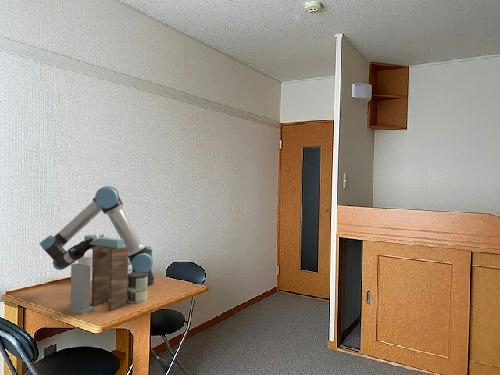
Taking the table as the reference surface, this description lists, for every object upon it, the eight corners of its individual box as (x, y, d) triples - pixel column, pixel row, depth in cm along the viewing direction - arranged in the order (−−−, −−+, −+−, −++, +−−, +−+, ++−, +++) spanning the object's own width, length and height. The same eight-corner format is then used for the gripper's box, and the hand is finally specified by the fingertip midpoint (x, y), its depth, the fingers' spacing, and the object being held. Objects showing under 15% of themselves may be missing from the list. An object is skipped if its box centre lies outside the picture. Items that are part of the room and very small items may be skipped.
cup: (72, 281, 229) (72, 255, 229) (84, 276, 241) (85, 252, 240) (89, 283, 226) (89, 257, 226) (100, 278, 238) (101, 253, 238)
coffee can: (125, 303, 193) (125, 276, 193) (129, 297, 204) (130, 271, 203) (145, 303, 194) (146, 276, 194) (149, 297, 205) (149, 271, 204)
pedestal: (65, 309, 181) (66, 264, 181) (77, 305, 187) (78, 262, 187) (81, 314, 176) (82, 268, 175) (94, 310, 182) (95, 265, 181)
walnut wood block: (91, 305, 188) (92, 246, 187) (107, 300, 197) (108, 243, 196) (111, 311, 182) (112, 249, 181) (126, 305, 190) (128, 246, 190)
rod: (84, 243, 195) (84, 235, 195) (90, 242, 198) (90, 234, 198) (117, 248, 184) (117, 240, 184) (123, 247, 187) (123, 239, 187)
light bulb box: (133, 271, 257) (133, 256, 257) (128, 274, 250) (128, 258, 250) (119, 270, 259) (119, 255, 259) (113, 273, 252) (114, 257, 252)
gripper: (90, 257, 208) (116, 240, 198) (62, 263, 193) (89, 244, 183) (85, 245, 210) (112, 227, 200) (57, 249, 195) (84, 231, 185)
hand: (101, 235), depth 192 cm, fingers closed on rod, 4 cm apart
